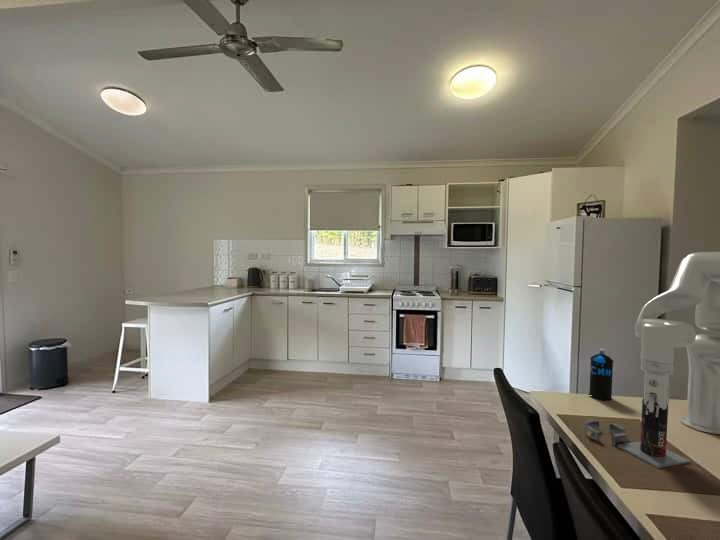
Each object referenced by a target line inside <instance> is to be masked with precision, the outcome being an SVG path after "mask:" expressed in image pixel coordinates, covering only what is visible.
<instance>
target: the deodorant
mask: <svg viewBox="0 0 720 540" xmlns="http://www.w3.org/2000/svg"><path fill="white" fill-rule="evenodd" d="M655 405H656V404H655ZM657 406H658V405H657ZM646 408H647V406H646V405H645V404H644V397H643V398H642V400H641V420H640V421H641V422H640V423H641V424H640V450H641V451H642V452H644V453H645V454H648V455H650V456H654V457H660V458H662V457H665V456H666V449H667V442H668V440H667V439H668V438H667V437H668V417H669V404H668V405H667V408H666V409H664V410H663V408H659V417H660V424H659V431H656V430H652V429H648V428H646V427H645V413H646ZM654 409H655V408H654ZM655 410H656V409H655Z"/></svg>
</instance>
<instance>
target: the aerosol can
mask: <svg viewBox="0 0 720 540" xmlns="http://www.w3.org/2000/svg"><path fill="white" fill-rule="evenodd" d="M598 351H599V352H598V353H596V354H594V355H591V356H590V358H589V359H590V368H589V369H590V370H589V393H588V396H589V395H592V396H589V397H590V398H591V399H593V400H597V401H601V402H602V401H604V402H610V401H612V400H613V398H612V394H613V393H612V391H613V368H614V362H615V361H614V359H612V358H611V357H610V356H609V355H606V349H605V348H599V350H598Z"/></svg>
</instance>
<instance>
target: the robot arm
mask: <svg viewBox="0 0 720 540" xmlns="http://www.w3.org/2000/svg"><path fill="white" fill-rule="evenodd" d="M693 306H695V314H694V323H695V326H696V327H697V328H699V329H701V330H703V331H710V332H715V333H720V251H702V252H700V251H699V252H693V253H688V255H687V256H685V257H684V258H683V259H682V260H681V261H680V262H679V264H678V267H677V269H676V272H675V274H674V277H673V278H672V282H671V283H670V286H669V289H668V290H667V291H664V292H662V293H660V294H658V295H656V296H655V297H653V298H652V299H651V300H649V301H648V302H646V303H645V304H644V305H643V307H642V308H641V310H640V313H639V315H638V317H637V319H636V322H635V324H634V333H635V336H636V337H637V338H638V339H639V340H640V341H641V342H640V367H639V368H640V369H641V371H643V372H644V382H643V383H644V384H643V387H644V388H643V393H644V394H643V398H644V404H645V405H646V406H647V408H646V413H645V427H646V428H648V429H652V430H656V431H659V424H660V417H659V408H663V410H664V409H666V408H667V405H668V406H669V403H670V375H673V374H674V367H675V366H674V365H675V364H674V361H675V360H674V359H675V348H677V349H679V348H680V349H683V348H686V353H687V360H688V361H687V362H688V379H687V380H688V381H687V402H686V403H687V404H686V405H687V406H686V415H682V416H680V422H681V423H682V424H683V425H685V426H687V427H688V428H691V429H693V430H696V431H699V432H704V433H709V434H713V435H720V335H719V336H717V335H712V334H706V333H705V334H701V333H699V334H697V332H696V329H695V328H694V326H693V325H691V324H689V323H687V322H684V321H679V320H678V321H676V320H669V319H662V318H658V317H659V316H660V315H663V314H665V313H667V312H671V311H675V310H680V309H686V308H689V307H693ZM655 404H656V405H655ZM657 405H658V406H657ZM654 408H655V409H656V410H655V409H654Z"/></svg>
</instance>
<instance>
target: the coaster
mask: <svg viewBox="0 0 720 540" xmlns="http://www.w3.org/2000/svg"><path fill="white" fill-rule="evenodd" d="M640 441H641V440H640ZM640 441H634V442H627V443H626V444H619V445H617V446H616V447H617V448H619V449H621V450H623V451H624V452H626V453H628V454H630V455H632V456H634V457H636V458H638V459H639V460H642V461H644V462H645V463H647V464H648V465H650V466H653V467H654V468H656V469H663V468H667V467H674V466H679V465H684V464H689V463H691V460H689V459H688V458H685V457H683V456H681V455H679V454H677V453H675V452H673V451H671V450H669V449H667V448H666V456H665V457H662V458H660V457H654V456H650V455H648V454H645V453H644V452H642V451H641V450H640Z"/></svg>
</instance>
